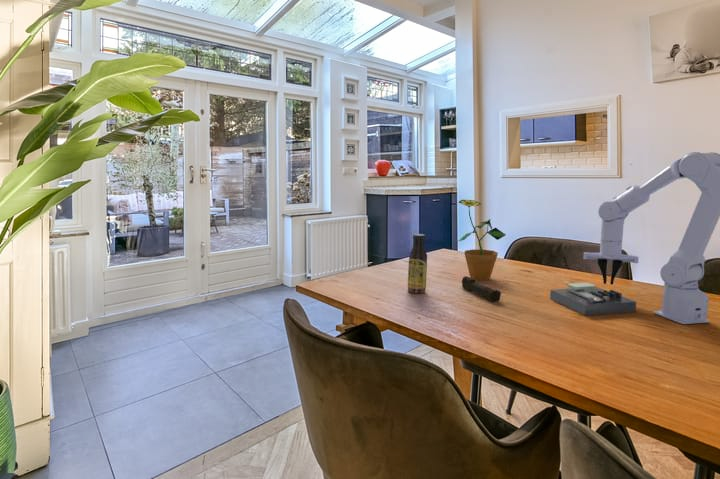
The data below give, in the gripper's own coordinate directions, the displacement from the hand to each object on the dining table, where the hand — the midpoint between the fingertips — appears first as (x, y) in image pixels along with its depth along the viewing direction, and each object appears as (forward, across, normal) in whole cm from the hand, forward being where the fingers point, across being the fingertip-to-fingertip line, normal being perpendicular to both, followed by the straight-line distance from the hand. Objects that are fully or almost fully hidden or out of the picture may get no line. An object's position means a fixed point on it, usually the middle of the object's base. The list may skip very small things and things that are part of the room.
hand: (608, 283), depth 129 cm
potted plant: (+5, -42, +8) cm, 43 cm away
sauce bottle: (+5, -56, -21) cm, 60 cm away
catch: (+2, -7, -6) cm, 9 cm away
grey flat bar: (+2, -6, -11) cm, 13 cm away
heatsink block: (+5, -4, -9) cm, 11 cm away
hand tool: (+5, -37, -14) cm, 40 cm away
